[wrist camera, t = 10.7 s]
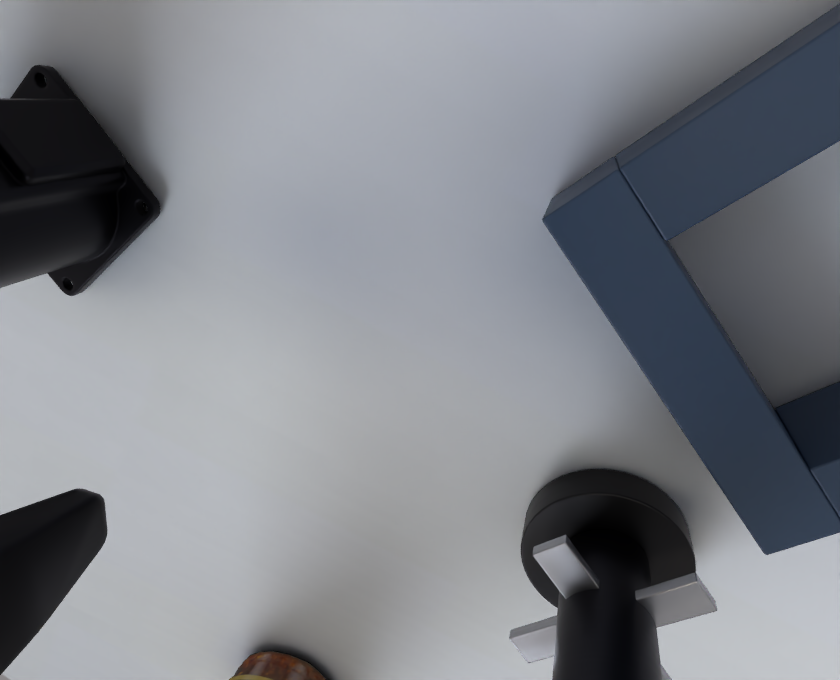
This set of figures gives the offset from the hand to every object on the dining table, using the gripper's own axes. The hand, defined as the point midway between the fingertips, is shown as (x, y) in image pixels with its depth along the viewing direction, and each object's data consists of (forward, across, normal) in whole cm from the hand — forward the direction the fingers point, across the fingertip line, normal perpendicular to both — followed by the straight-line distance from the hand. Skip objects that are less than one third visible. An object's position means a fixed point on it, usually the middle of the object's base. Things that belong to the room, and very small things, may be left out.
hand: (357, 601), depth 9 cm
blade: (+13, -6, +8) cm, 16 cm away
